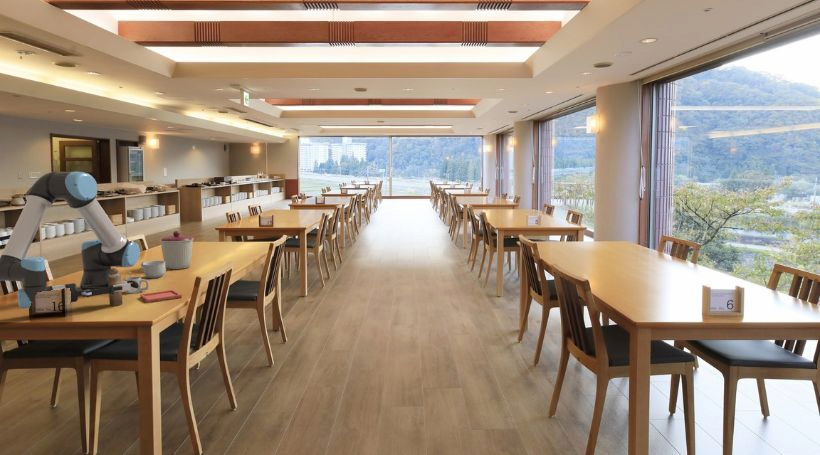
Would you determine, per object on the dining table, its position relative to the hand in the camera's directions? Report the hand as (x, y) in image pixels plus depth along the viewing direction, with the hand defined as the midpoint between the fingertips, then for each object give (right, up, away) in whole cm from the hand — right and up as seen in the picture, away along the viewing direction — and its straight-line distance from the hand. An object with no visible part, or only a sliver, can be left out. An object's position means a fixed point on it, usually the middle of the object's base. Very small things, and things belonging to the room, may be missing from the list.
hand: (128, 285), depth 236 cm
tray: (+10, -7, +9) cm, 15 cm away
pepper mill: (-4, -8, -2) cm, 9 cm away
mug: (-6, -5, +20) cm, 22 cm away
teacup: (-15, -1, +54) cm, 55 cm away
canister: (-12, +1, +78) cm, 79 cm away
